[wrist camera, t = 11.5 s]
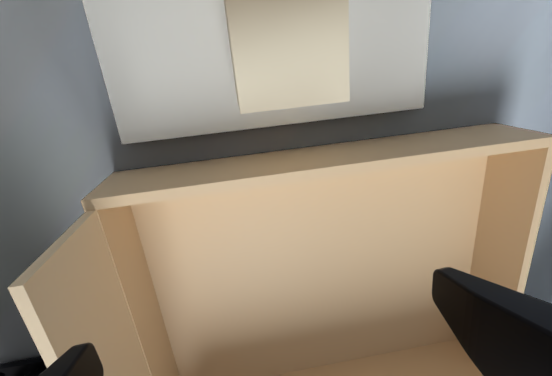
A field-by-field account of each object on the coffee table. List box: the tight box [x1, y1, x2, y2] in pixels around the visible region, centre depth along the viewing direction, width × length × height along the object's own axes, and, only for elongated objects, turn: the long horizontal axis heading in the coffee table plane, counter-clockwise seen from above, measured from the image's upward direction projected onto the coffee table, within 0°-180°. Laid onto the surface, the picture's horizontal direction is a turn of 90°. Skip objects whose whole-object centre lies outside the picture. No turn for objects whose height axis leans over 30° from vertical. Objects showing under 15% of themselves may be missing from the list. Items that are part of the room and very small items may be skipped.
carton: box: [8, 123, 552, 376], centre depth 17 cm, size 22×17×9 cm
